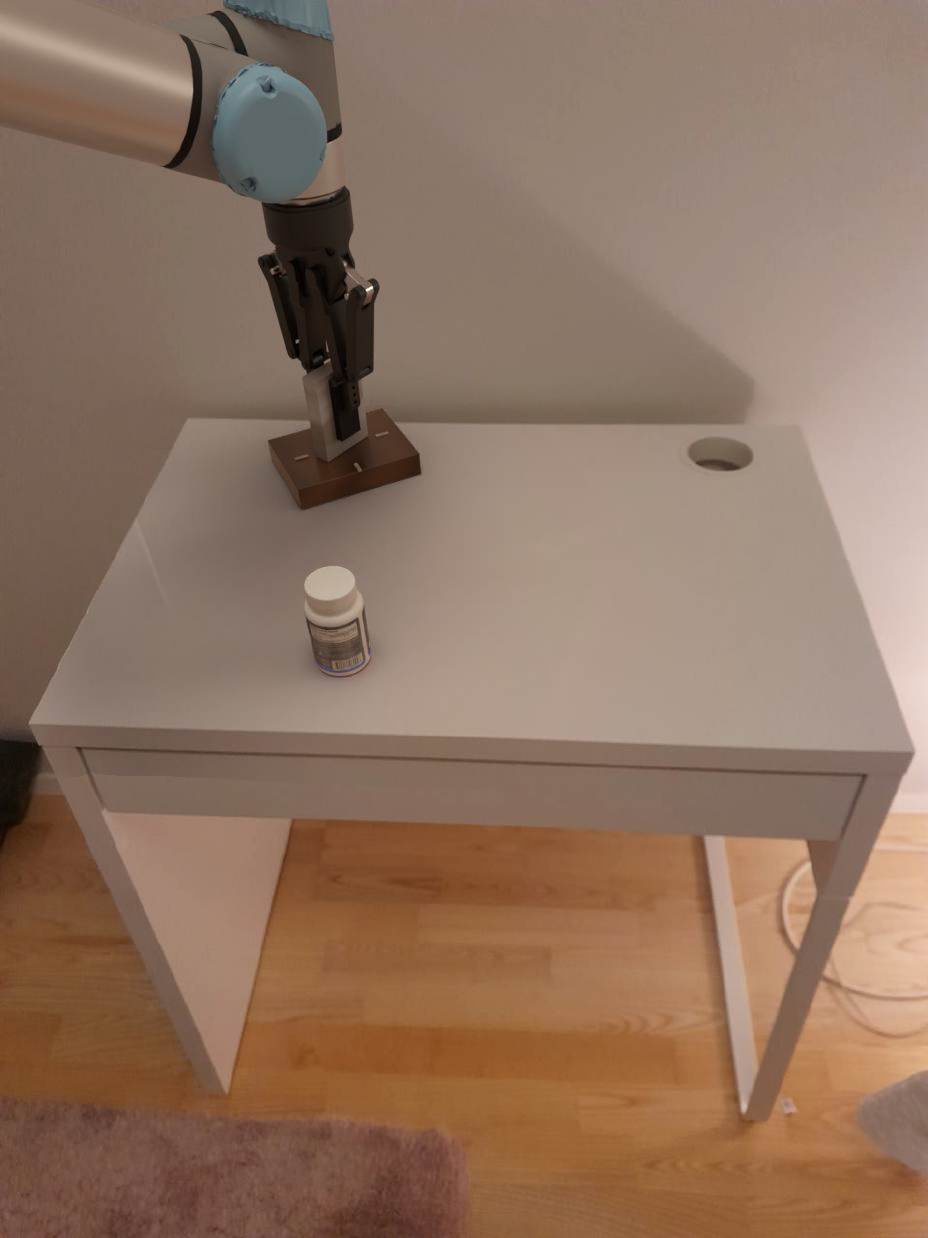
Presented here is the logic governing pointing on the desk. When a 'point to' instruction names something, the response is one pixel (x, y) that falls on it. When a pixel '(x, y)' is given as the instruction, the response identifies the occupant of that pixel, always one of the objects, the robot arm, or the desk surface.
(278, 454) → the panel
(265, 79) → the robot arm
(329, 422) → the red-topped gray slab
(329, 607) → the pill bottle
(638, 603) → the desk surface
